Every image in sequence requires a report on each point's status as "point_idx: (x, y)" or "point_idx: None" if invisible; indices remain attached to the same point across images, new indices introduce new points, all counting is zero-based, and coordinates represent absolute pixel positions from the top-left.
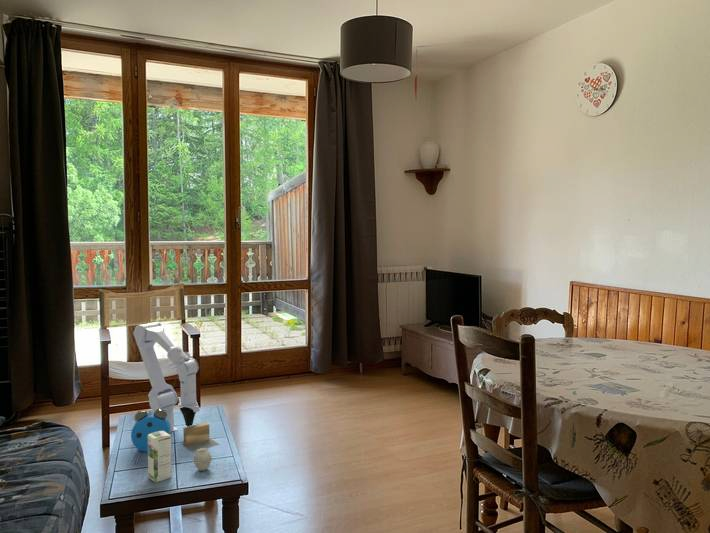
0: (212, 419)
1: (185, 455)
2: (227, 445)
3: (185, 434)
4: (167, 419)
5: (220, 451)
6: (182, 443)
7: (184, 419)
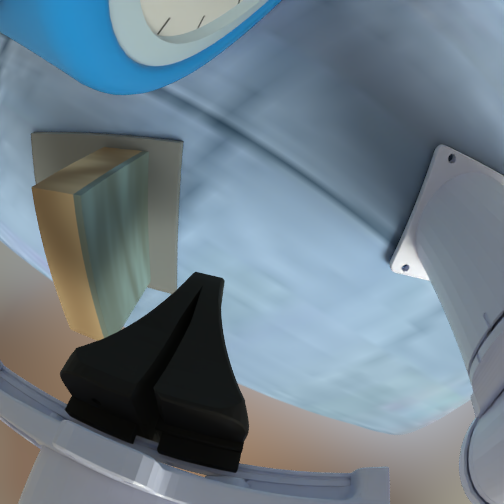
0: (335, 400)
1: (35, 91)
2: (44, 269)
3: (78, 172)
4: (51, 59)
5: (12, 220)
6: (154, 145)
7: (213, 312)
